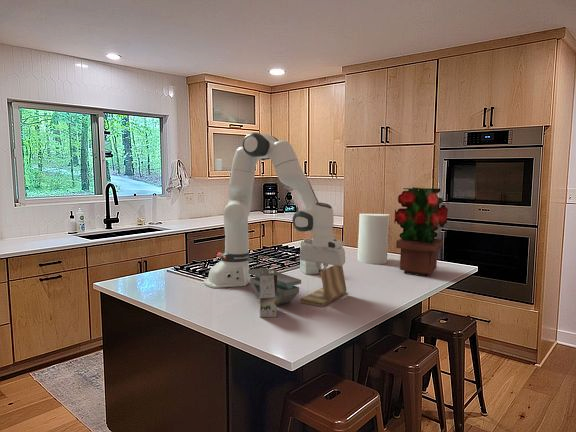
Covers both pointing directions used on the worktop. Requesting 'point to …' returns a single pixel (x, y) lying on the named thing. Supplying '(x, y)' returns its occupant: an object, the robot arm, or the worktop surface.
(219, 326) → the worktop surface
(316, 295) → the light brown rectangular block
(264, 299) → the coffee box
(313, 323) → the worktop surface
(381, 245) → the cylinder
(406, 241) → the potted plant
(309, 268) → the supplement box
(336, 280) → the plank
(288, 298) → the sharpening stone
